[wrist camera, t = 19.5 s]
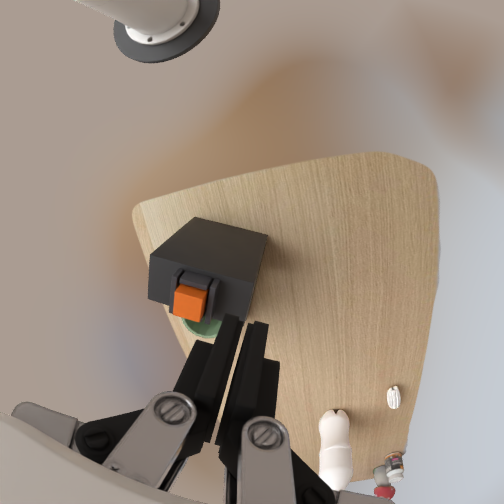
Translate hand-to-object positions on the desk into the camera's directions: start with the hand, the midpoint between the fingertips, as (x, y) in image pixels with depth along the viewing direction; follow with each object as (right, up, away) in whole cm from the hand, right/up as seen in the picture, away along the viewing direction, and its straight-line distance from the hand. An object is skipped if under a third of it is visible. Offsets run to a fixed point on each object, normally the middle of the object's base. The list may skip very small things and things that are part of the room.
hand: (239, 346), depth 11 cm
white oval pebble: (+33, -29, +44) cm, 62 cm away
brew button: (-6, -1, +20) cm, 21 cm away
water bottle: (+20, -35, +49) cm, 63 cm away
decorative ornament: (+45, -70, +59) cm, 102 cm away
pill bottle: (+45, -60, +55) cm, 93 cm away
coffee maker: (-5, +1, +38) cm, 38 cm away
